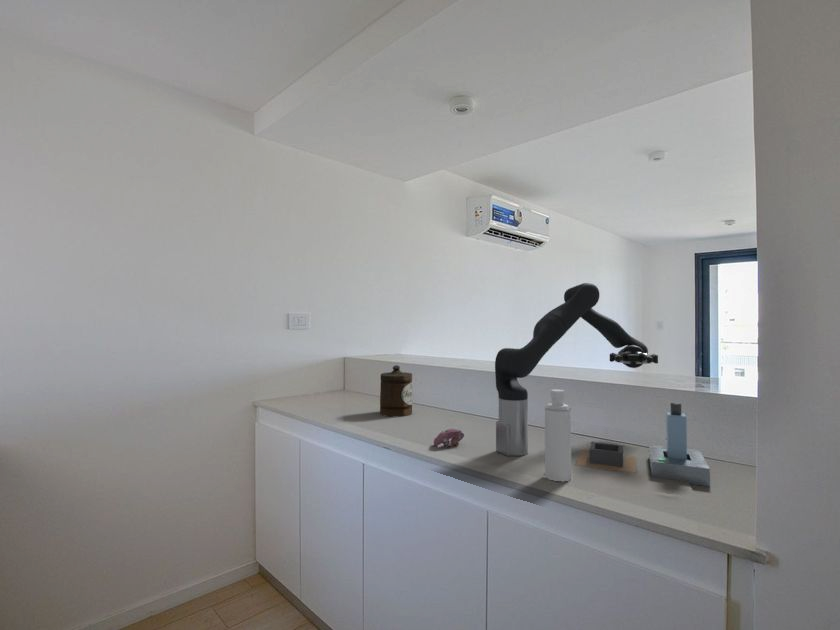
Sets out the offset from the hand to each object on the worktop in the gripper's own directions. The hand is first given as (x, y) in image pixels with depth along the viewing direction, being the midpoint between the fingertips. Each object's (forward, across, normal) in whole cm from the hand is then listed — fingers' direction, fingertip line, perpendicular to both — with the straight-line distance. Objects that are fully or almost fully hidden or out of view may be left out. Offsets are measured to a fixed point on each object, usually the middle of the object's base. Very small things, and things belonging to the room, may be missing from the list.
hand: (633, 359), depth 137 cm
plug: (+12, +10, +30) cm, 34 cm away
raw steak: (+15, -57, +30) cm, 66 cm away
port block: (+12, +11, +30) cm, 34 cm away
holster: (+12, -8, +30) cm, 33 cm away
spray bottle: (+32, -19, +30) cm, 48 cm away
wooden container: (-22, -98, +30) cm, 105 cm away
